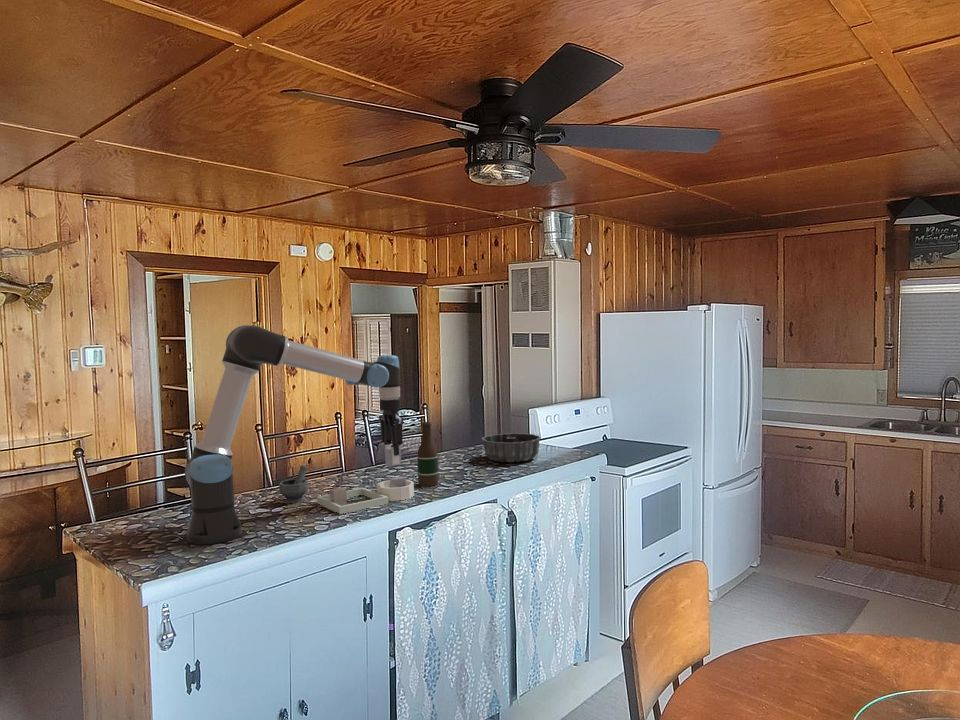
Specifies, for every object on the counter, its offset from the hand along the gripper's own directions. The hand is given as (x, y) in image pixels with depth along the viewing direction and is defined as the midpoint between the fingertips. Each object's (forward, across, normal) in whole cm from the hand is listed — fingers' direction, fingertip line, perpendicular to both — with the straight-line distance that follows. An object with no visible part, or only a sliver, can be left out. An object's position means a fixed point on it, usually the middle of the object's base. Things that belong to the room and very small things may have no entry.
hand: (392, 463), depth 234 cm
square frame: (+12, 0, +16) cm, 20 cm away
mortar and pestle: (+12, +19, +29) cm, 37 cm away
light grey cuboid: (0, 0, 0) cm, 0 cm away
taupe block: (+12, 0, +21) cm, 24 cm away
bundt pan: (+13, +18, -71) cm, 74 cm away
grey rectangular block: (+11, -3, 0) cm, 11 cm away
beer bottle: (+12, +5, -18) cm, 22 cm away
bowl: (+12, -1, 0) cm, 12 cm away
